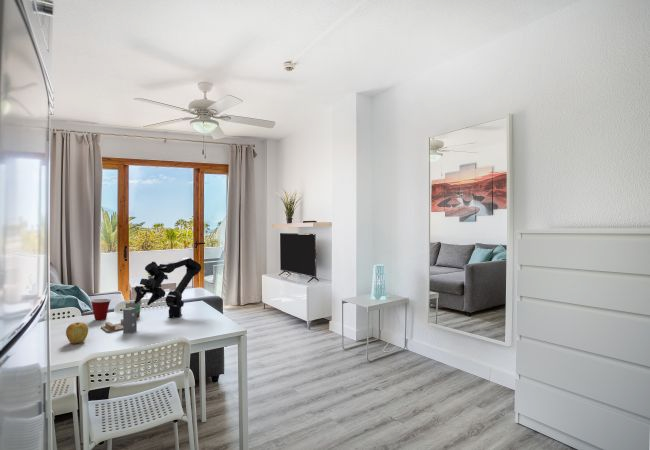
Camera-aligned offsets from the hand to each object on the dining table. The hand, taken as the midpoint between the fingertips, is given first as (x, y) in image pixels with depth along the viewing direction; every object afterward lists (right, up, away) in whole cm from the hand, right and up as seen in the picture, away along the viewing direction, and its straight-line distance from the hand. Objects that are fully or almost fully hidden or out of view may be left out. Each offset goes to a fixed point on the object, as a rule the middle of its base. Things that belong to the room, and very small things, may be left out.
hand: (141, 304), depth 207 cm
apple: (-20, -14, -24) cm, 34 cm away
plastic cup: (-33, -13, +18) cm, 40 cm away
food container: (-15, -13, +22) cm, 30 cm away
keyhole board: (-13, -13, 0) cm, 19 cm away
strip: (-3, -13, -7) cm, 15 cm away
